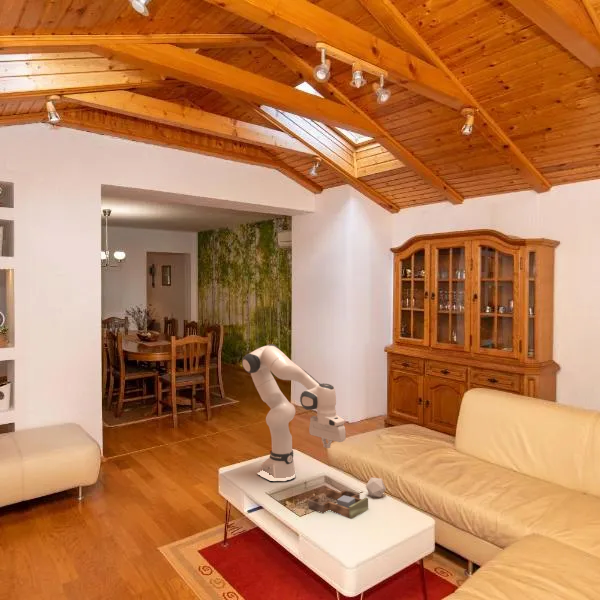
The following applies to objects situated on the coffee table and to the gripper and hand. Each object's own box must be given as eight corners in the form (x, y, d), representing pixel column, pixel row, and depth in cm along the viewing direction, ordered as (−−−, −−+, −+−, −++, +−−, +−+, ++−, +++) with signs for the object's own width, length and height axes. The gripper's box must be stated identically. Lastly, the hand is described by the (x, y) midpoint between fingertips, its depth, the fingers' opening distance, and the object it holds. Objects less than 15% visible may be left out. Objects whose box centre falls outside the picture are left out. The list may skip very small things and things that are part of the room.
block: (337, 509, 218) (336, 499, 218) (344, 504, 223) (343, 495, 223) (348, 512, 214) (348, 502, 214) (355, 507, 219) (355, 498, 219)
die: (374, 502, 226) (386, 484, 226) (360, 489, 231) (372, 472, 231) (379, 502, 233) (391, 485, 234) (365, 489, 238) (376, 473, 238)
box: (304, 506, 222) (304, 495, 222) (333, 492, 237) (332, 482, 237) (345, 522, 205) (345, 510, 205) (373, 506, 220) (373, 495, 220)
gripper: (306, 416, 233) (306, 444, 233) (338, 423, 219) (339, 453, 219) (314, 413, 238) (315, 441, 238) (347, 420, 223) (347, 450, 223)
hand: (326, 447), depth 228 cm, fingers closed
